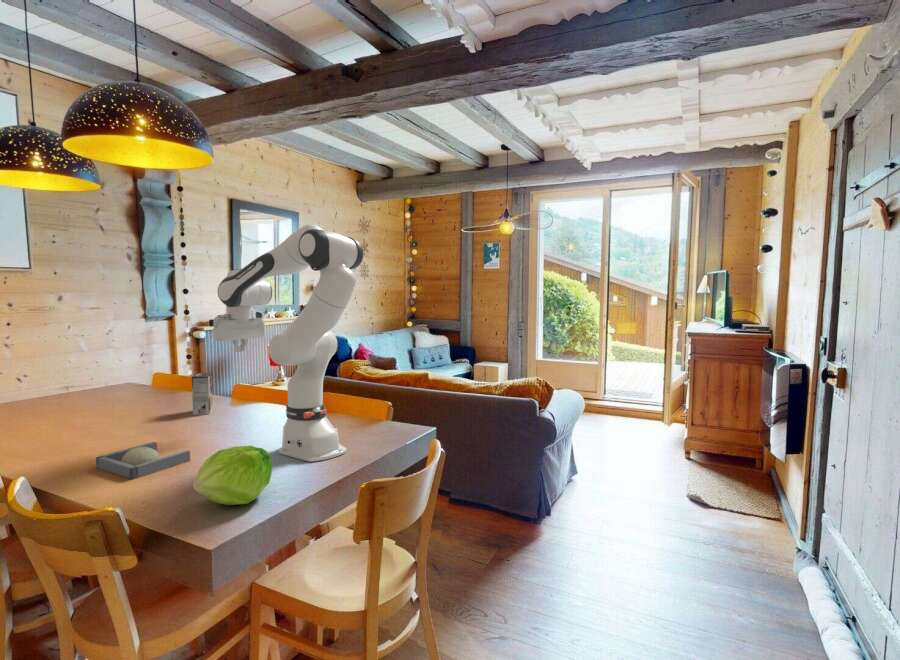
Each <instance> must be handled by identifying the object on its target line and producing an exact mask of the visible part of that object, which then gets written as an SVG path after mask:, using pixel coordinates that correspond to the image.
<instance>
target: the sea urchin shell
mask: <svg viewBox="0 0 900 660" xmlns="http://www.w3.org/2000/svg"><path fill="white" fill-rule="evenodd" d="M160 456H161V455H160V453H159V452H158V450H157V451H156V450H155V449H152V448H148V447H139V448H133V449H131V450H129V451H128V452H127V453H126V454H124V456H123V458H122V460H121V462H124V463H127V464H130V465H134V466H136V465H139V464H143V463H146V462H149V461H153V460H156V459H159V458H161V457H160Z"/></svg>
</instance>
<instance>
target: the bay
mask: <svg viewBox="0 0 900 660" xmlns="http://www.w3.org/2000/svg"><path fill="white" fill-rule="evenodd" d="M139 447H148V448H152V449H155V450H156V451H157V452H158V443H157V442H156V441H151V442H148V443H144V444H141V445H137V446H133V447H129V448H125V449H122V450H118V451H115V452H111V453H108V454H103V455H99V456H97V457H95V468H97V469H100V470H103V471H106V472H108V473H112V474H116V475H117V476H121V477H125V478H127V479H131V480H135V479H138V478H141V477H144V476H147V475H150V474H155V473H158V472H160V471H162V470H166V469H168V468H172V467H175V466H178V465H181V464H184V463H187V462H190V461H191V451H190V450H188V449H186V450H183V451H179V452H176V453H173V454H169V455H167V456H163V457H160V458H159V459H156V460H153V461H149V462H146V463H143V464H139V465H136V466H134V465H130V464H127V463H124V462H121V460H122V458H123V456H124V454H126V453H127V452H128V451H129V450H131V449H133V448H139Z"/></svg>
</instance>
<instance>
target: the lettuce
mask: <svg viewBox="0 0 900 660" xmlns="http://www.w3.org/2000/svg"><path fill="white" fill-rule="evenodd" d="M272 461H273V460H272V457H271V455H270V454H269V452H268V451H267V450H266V449H264V448H263V447H257V446H253V445H239V446H232V447H228V448H224V449H220V450H217V451H216V452H214V453H213V454H212V455H210V456H209V457H208V458H207V459H205V460H204V462H203V464H202V466H201V467H200V468H199V470H198V474H197V476H196V477H195V478H194V481H193V484H192V485H193V489H194V490H195V491H196V492H197V493H198V494H200V495H203V496H204V497H206V498H207V499H208V500H210V501H212V502H213V503H214V504H219V505H226V506H236V505H237V506H238V505H239V506H240V505H246V504H247V505H248V504H249V503H251V502H252V501H254V500H255V499H257V498H258V497H259V496H260V494H261V493H262V492H263V490H264V489H265V488H266V487H267V486H268V484H270V481H271V477H272V472H273V463H272Z"/></svg>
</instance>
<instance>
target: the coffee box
mask: <svg viewBox="0 0 900 660" xmlns="http://www.w3.org/2000/svg"><path fill="white" fill-rule="evenodd" d="M191 391H192V392H191V394H192V395H191V397H192V398H191V399H192V401H191V402H192V416H200V415H210V414H211V412H212V411H213V410H214V404H213V374H212V372H196V373H195V374H193V375H192V376H191Z"/></svg>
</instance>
